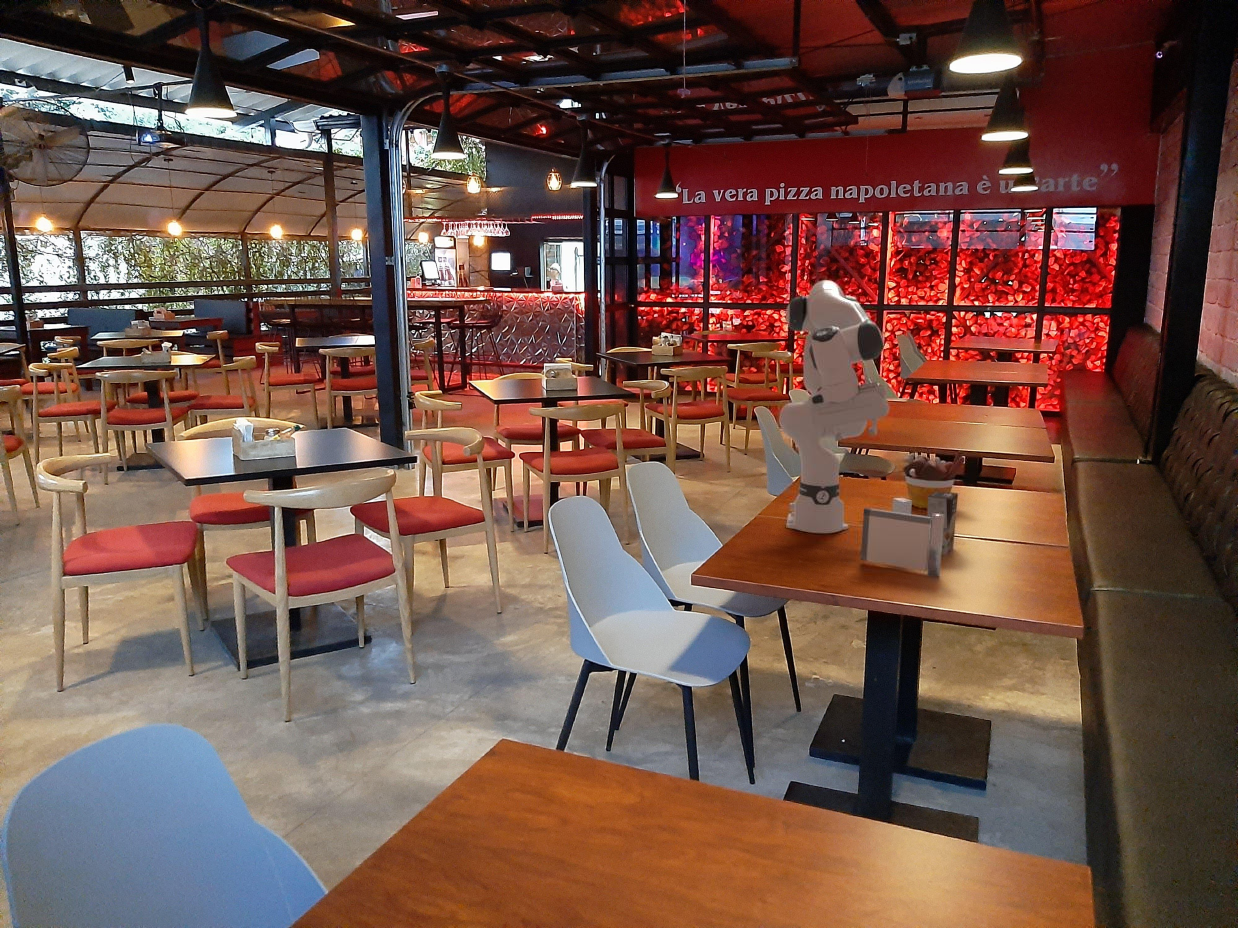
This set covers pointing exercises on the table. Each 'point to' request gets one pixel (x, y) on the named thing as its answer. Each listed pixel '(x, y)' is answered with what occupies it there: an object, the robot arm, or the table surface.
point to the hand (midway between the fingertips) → (856, 436)
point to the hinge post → (935, 545)
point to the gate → (896, 539)
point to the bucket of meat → (929, 476)
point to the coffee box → (947, 507)
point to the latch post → (902, 505)
